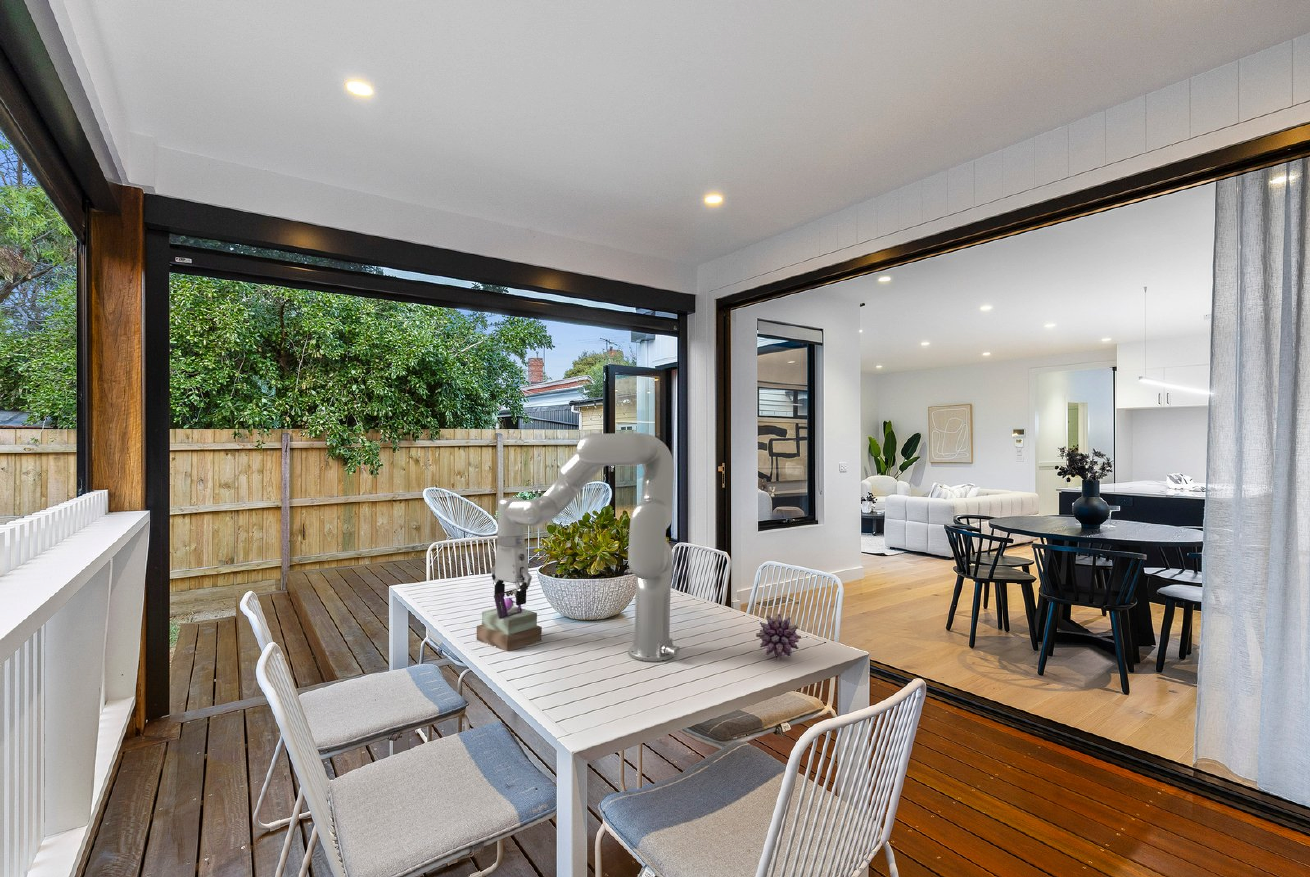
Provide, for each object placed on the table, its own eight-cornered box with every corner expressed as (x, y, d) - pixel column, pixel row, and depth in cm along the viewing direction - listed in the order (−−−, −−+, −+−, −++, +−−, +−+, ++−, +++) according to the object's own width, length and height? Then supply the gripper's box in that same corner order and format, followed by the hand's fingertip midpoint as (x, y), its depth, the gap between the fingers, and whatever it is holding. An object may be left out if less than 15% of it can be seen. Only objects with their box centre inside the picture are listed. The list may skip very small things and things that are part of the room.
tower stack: (541, 640, 181) (542, 612, 181) (507, 651, 171) (507, 621, 171) (510, 630, 189) (511, 603, 189) (476, 639, 180) (477, 611, 180)
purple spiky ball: (786, 669, 162) (787, 623, 162) (747, 657, 170) (748, 613, 170) (808, 658, 171) (809, 614, 171) (770, 647, 179) (771, 605, 179)
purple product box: (496, 594, 174) (518, 587, 182) (483, 598, 176) (505, 591, 184) (502, 618, 173) (524, 611, 181) (488, 622, 175) (510, 614, 183)
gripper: (541, 543, 178) (540, 604, 178) (503, 536, 189) (502, 593, 189) (520, 546, 172) (518, 609, 172) (481, 539, 183) (480, 598, 183)
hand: (510, 601), depth 180 cm, fingers open, 9 cm apart
